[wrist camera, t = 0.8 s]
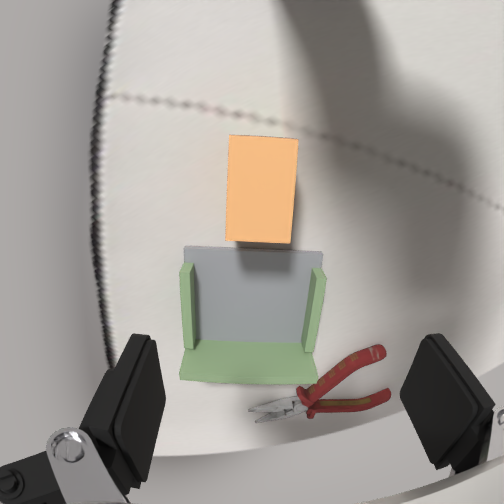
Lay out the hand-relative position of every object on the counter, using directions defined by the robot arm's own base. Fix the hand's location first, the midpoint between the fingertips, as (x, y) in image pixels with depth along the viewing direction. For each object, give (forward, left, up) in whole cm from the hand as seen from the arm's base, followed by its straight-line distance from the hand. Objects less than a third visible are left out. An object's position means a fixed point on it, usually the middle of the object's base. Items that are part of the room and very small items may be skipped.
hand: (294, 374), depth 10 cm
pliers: (+23, +10, -23) cm, 34 cm away
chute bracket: (+9, -1, -22) cm, 24 cm away
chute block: (-4, -1, -22) cm, 22 cm away
